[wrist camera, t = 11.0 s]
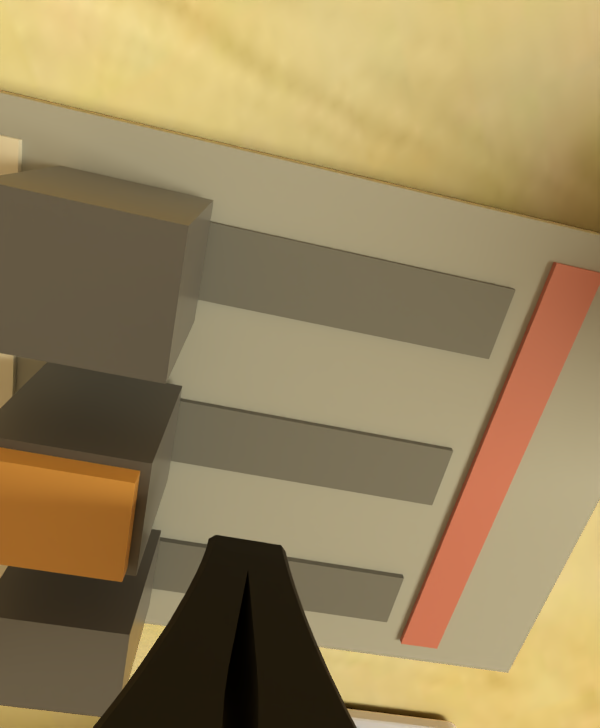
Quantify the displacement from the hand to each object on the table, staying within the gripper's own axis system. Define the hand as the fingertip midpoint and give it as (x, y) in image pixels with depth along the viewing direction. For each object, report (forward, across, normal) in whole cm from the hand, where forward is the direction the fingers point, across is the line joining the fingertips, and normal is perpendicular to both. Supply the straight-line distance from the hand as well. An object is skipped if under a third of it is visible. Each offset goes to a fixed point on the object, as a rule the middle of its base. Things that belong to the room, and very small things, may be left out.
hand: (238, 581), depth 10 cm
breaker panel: (+6, 0, 0) cm, 6 cm away
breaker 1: (+4, +4, -5) cm, 7 cm away
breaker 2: (+4, +4, +4) cm, 7 cm away
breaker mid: (+4, +4, 0) cm, 6 cm away
